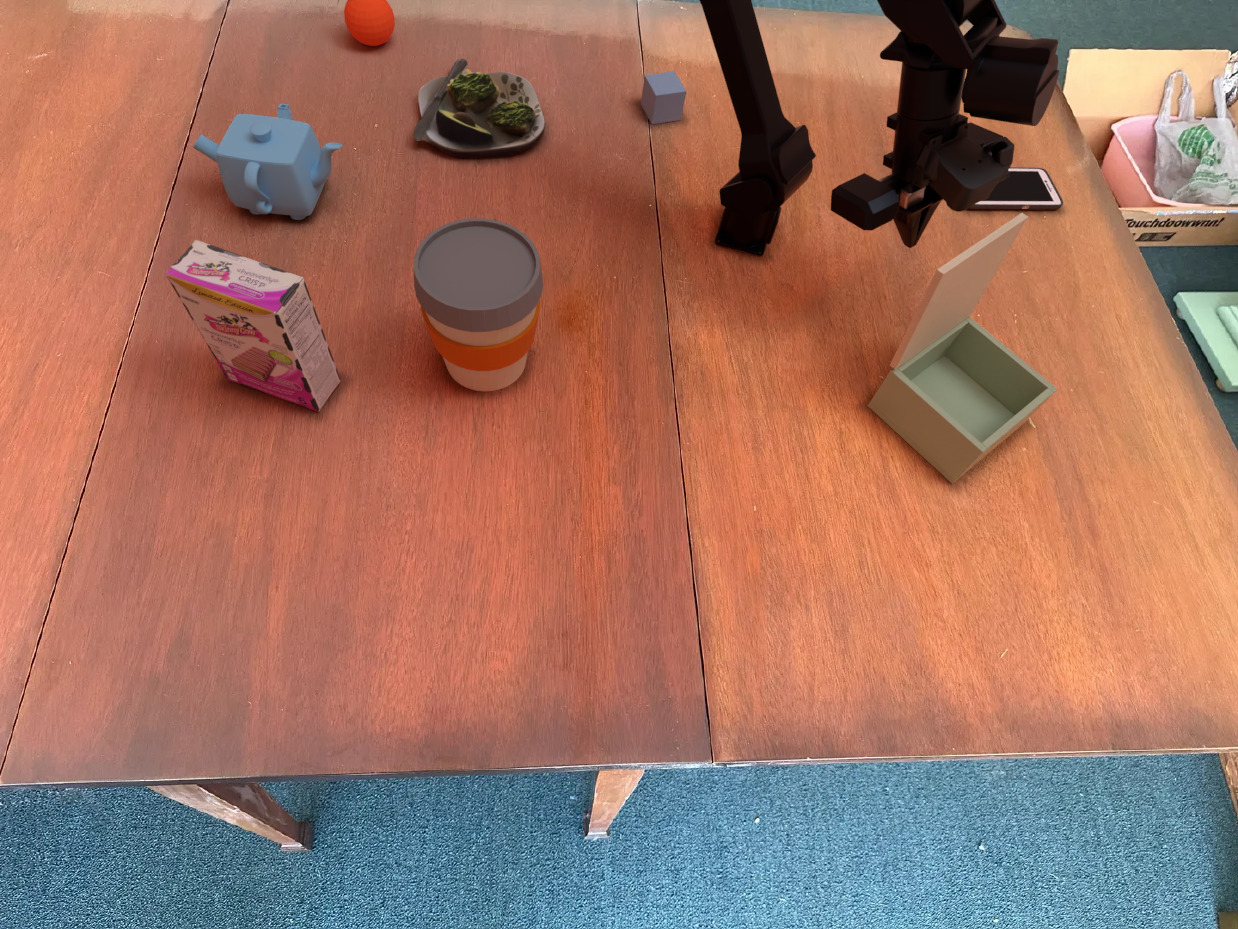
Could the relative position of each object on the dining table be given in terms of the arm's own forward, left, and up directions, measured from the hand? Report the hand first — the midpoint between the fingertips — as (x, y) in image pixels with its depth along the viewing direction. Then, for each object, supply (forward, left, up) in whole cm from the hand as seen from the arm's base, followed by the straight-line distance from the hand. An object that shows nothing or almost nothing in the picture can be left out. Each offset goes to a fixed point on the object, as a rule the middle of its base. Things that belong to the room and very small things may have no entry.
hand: (909, 245), depth 87 cm
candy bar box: (-61, -33, -11) cm, 70 cm away
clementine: (-78, +26, -11) cm, 83 cm away
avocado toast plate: (-57, +15, -11) cm, 60 cm away
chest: (+10, -13, -11) cm, 20 cm away
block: (-34, +27, -11) cm, 45 cm away
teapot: (-74, -7, -11) cm, 75 cm away
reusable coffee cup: (-42, -23, -11) cm, 49 cm away
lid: (+5, -9, +3) cm, 10 cm away
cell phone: (+16, +29, -11) cm, 35 cm away
